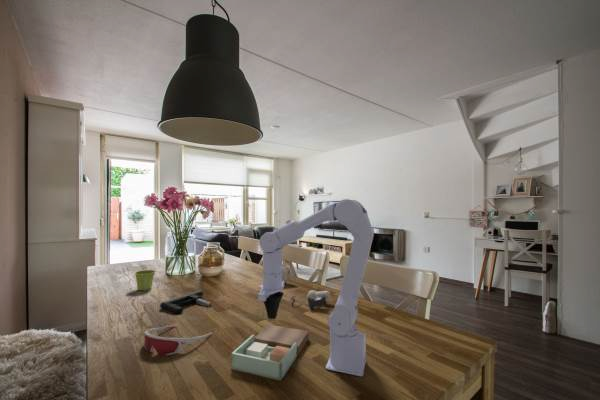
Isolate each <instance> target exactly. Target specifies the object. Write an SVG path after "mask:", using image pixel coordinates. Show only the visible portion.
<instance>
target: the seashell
mask: <svg viewBox="0 0 600 400" xmlns="http://www.w3.org/2000/svg"><path fill="white" fill-rule="evenodd" d="M294 275H295V271H294V269H293V268H292V267H290V266H289V267H288V266H287V267H286V266H285V265H283V264H282V281H284V285H286V284H287V282H288V281H289V280H290V279H291V278H292V277H293V276H294Z"/></svg>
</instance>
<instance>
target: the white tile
mask: <svg viewBox="0 0 600 400" xmlns="http://www.w3.org/2000/svg"><path fill="white" fill-rule="evenodd" d="M267 352H268V344H264V343H258V342H253V343H252V344H251V345H250V346H249V347H248V348H247V349H246V355H248V356H253V357H257V358H262V357H263V356H264V355H265V354H266V353H267Z"/></svg>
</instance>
